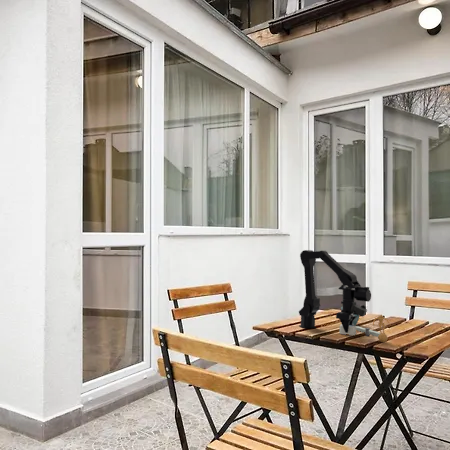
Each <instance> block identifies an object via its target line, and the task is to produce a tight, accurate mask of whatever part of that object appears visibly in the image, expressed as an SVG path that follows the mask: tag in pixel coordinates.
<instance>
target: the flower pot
mask: <svg viewBox="0 0 450 450" xmlns="http://www.w3.org/2000/svg"><path fill="white" fill-rule="evenodd" d="M341 310H342V306H341V308H340V311H341ZM355 316H357V315H355ZM359 319H360V315H359V316H357V318H356V319H354V321H353V324H354V326H357V324H358V322H359Z"/></svg>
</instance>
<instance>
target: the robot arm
mask: <svg viewBox="0 0 450 450" xmlns="http://www.w3.org/2000/svg"><path fill="white" fill-rule="evenodd" d="M299 257H300V262H301V264H302V266H303V271H304V272H303V273H304V286H305V288H304V289H305V297H304V299H303V306H302V308H301V309H299V311H298V315H299V316H300V325H299V324H298V326H299V327H301V328H303V329H316V328H317V326H316V318H315V315H317V312H318V311H319V310H320V307H321V304H320V301H321V299H320V298H318V297H317V295H316V288H315V287H316V285H315V271H314V268H315V264H316V262H317V261H316V260H317V259H320V260H321V261H322V262H323V263H325V264H326V266H327V267H329V269H331V270H332V271H333V272H334V273H335V274H336V276H337V279H338V280H339V281H340V283H341V285H340V286H339V287H338V289H337V290H342V300H341V302H340V304H342V306H341V307H342V310H341V309H340V311H339V312H337V313H336V314H335V318H336V319H338V320H339V321H340V323H341V325H342V326H343V328H344V330H345V332H346V333H347V332H348V329H349V325H352V324H353V321H354V319H356V318H357V316H359V317H365V316H366V314H367V312H368V309H367V306H366V305H364V304H362V305H358V304H357V302H358V301H360V302H371V299H372V293H371V290H370V287H369V286H365V287H364V286H362V285H361V284H360V282H359V281H358V279H357V275H356V274H355V273H353V272H351V271H350V270H347V269H346V268H344V266H342V265H341V264H340V263H339V261H337V260H336V259H334V258H333V257H332V255H330V254H329V253H328V251H327V250H318V251H317V250H316V251H314V250H311V249H306V250H305V249H304V250H302V251H301V252H300V254H299ZM355 300H356V301H355ZM355 315H357V316H355Z"/></svg>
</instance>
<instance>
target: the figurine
mask: <svg viewBox="0 0 450 450" xmlns="http://www.w3.org/2000/svg"><path fill="white" fill-rule="evenodd" d="M376 320H378V323H377V324H378V327H379V333H380V334H379V336H378V337H377V339H378V341H379V342H380V343H386V342H387V341H388V335H387V334H386V332H385V329H386V326H385V322H384V320H385V321H386V322H387V323H388V324H389V327H390V326H391V323H390V321H389V320H388V319H387V318H385V317H384V316H383V314H380V315H378V316H377V317H375V318H374V319H373V321H372V322H373V323H372V326H375V322H376ZM381 330H382V331H381Z"/></svg>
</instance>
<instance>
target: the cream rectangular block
mask: <svg viewBox="0 0 450 450" xmlns="http://www.w3.org/2000/svg"><path fill="white" fill-rule="evenodd" d="M356 326H357V325H356ZM356 326H353V325H349V329H348V332H347V333H346V332H345V330H344V328H343V326H342V324H339V334H340V335H346V334H349V335H348V336H353V335H354V336H355V334H356V335H357V331H356Z"/></svg>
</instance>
